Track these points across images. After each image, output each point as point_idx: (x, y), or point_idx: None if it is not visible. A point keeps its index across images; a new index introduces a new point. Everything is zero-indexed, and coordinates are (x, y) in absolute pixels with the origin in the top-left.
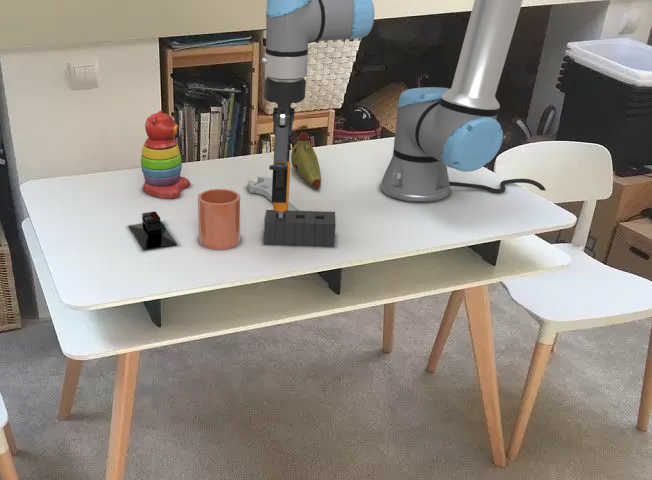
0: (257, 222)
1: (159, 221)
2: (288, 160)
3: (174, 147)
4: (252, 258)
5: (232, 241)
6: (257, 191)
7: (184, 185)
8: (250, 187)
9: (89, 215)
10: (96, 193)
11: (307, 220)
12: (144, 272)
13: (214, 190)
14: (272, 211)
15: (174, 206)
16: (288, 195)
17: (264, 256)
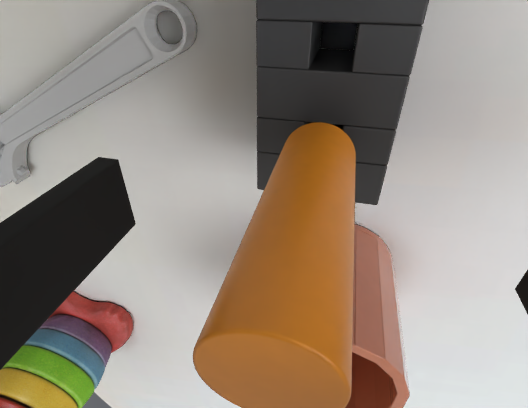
0: (209, 167)
1: None
2: (32, 228)
3: (20, 400)
4: (475, 198)
5: (385, 252)
6: (21, 160)
7: (70, 297)
8: (18, 182)
9: (229, 404)
10: (146, 387)
11: (392, 4)
12: (485, 388)
13: None
14: None
15: (162, 313)
16: (327, 159)
17: (469, 163)
